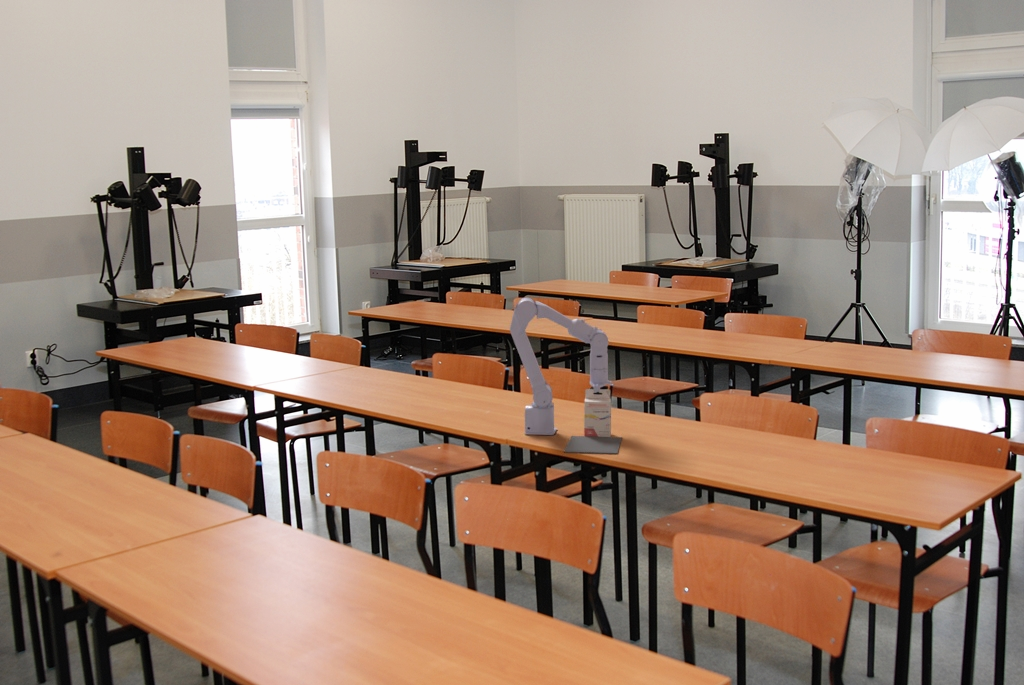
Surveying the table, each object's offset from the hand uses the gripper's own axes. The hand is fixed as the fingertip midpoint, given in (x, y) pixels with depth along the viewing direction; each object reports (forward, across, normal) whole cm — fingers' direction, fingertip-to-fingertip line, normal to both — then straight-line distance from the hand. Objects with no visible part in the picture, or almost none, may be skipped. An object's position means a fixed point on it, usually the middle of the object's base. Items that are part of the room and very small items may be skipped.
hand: (599, 409), depth 319 cm
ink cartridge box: (+8, -5, 0) cm, 9 cm away
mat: (+7, -17, 0) cm, 19 cm away
